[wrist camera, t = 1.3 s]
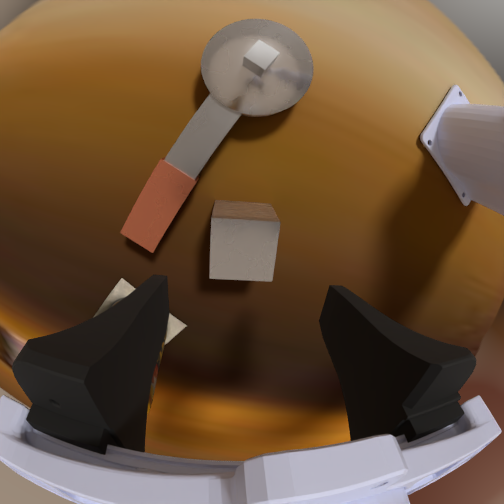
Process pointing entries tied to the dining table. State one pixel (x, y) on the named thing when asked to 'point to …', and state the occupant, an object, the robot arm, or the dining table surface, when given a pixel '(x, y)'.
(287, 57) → the metal scoop
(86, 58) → the dining table surface
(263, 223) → the brushed metal cube
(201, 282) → the dining table surface
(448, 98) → the robot arm
